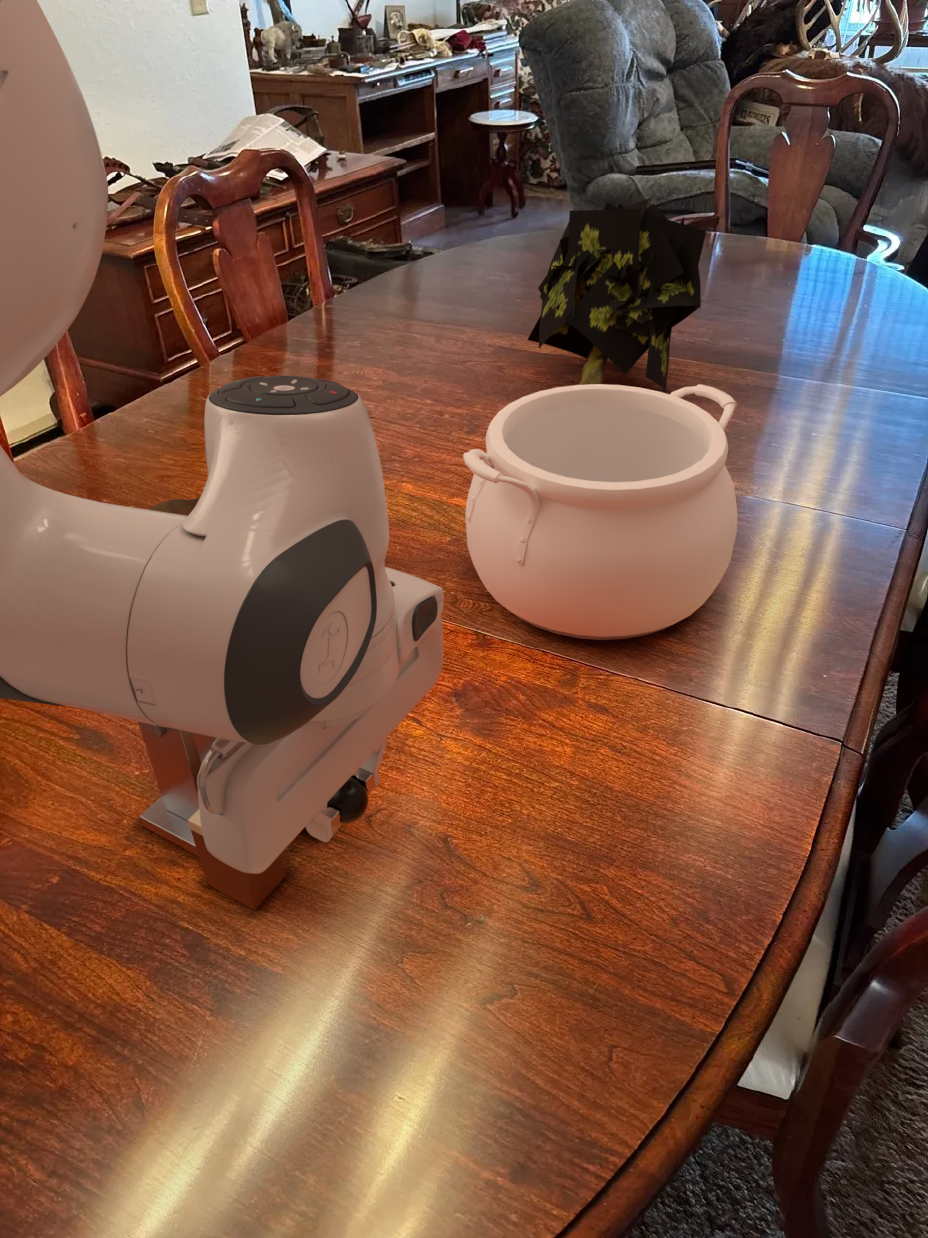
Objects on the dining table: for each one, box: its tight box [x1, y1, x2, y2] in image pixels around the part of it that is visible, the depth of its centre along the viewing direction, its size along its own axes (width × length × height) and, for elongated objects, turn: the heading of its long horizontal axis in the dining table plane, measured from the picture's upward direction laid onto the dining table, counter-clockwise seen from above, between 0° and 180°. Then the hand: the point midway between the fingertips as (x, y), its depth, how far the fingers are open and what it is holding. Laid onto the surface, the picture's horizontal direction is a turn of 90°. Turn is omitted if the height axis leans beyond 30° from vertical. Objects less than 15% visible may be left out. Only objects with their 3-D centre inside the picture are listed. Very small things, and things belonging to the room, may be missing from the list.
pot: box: [462, 383, 739, 641], centre depth 90 cm, size 29×26×17 cm
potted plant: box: [527, 197, 708, 394], centre depth 129 cm, size 21×22×30 cm
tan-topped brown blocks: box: [188, 810, 306, 911], centre depth 67 cm, size 11×4×7 cm, turn 149°
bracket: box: [137, 721, 217, 858], centre depth 68 cm, size 7×8×13 cm
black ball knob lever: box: [327, 778, 369, 825], centre depth 63 cm, size 17×3×3 cm, turn 60°
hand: (344, 809), depth 61 cm, fingers closed on black ball knob lever, 3 cm apart
